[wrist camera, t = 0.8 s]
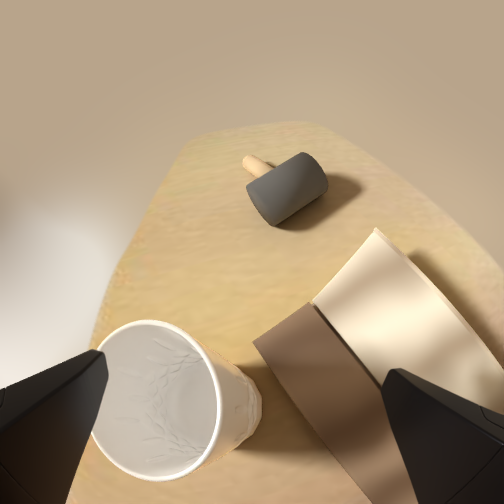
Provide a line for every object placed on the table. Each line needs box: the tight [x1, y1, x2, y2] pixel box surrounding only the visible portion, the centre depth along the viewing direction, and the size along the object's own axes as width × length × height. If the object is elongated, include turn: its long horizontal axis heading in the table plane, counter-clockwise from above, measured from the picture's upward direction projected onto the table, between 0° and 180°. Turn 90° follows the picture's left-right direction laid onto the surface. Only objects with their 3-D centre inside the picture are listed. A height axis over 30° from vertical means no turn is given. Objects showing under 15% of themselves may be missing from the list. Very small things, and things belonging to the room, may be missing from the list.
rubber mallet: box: [243, 152, 328, 227], centre depth 27 cm, size 10×6×4 cm, turn 33°
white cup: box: [91, 320, 262, 482], centre depth 14 cm, size 8×8×10 cm
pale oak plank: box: [312, 227, 504, 415], centre depth 14 cm, size 20×7×2 cm, turn 32°
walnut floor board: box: [253, 302, 418, 504], centre depth 14 cm, size 20×5×1 cm, turn 32°
